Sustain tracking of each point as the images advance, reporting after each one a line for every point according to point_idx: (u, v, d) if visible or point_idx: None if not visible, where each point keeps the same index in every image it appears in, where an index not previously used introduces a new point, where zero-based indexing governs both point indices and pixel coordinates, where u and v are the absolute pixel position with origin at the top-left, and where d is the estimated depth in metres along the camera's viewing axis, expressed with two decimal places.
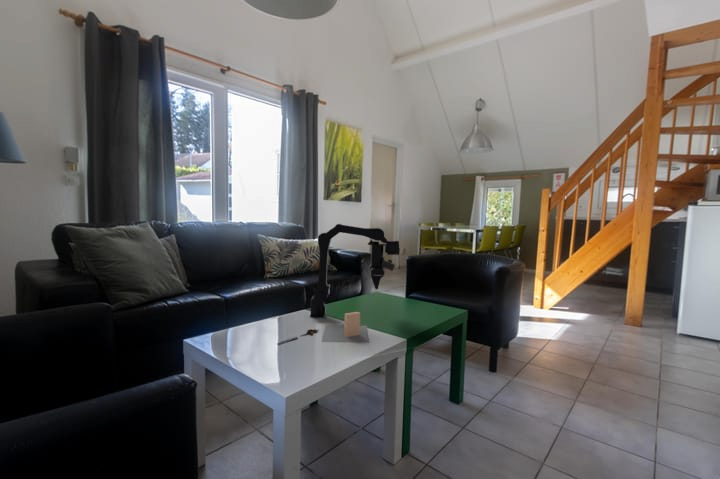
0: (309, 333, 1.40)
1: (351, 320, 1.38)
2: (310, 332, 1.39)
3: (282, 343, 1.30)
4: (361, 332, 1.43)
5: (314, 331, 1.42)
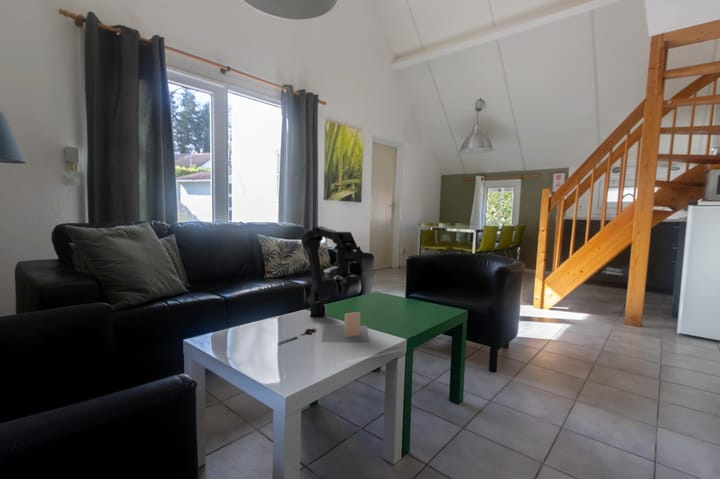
0: (308, 332, 1.40)
1: (351, 320, 1.38)
2: (309, 331, 1.40)
3: (282, 343, 1.30)
4: (361, 332, 1.43)
5: (312, 330, 1.42)
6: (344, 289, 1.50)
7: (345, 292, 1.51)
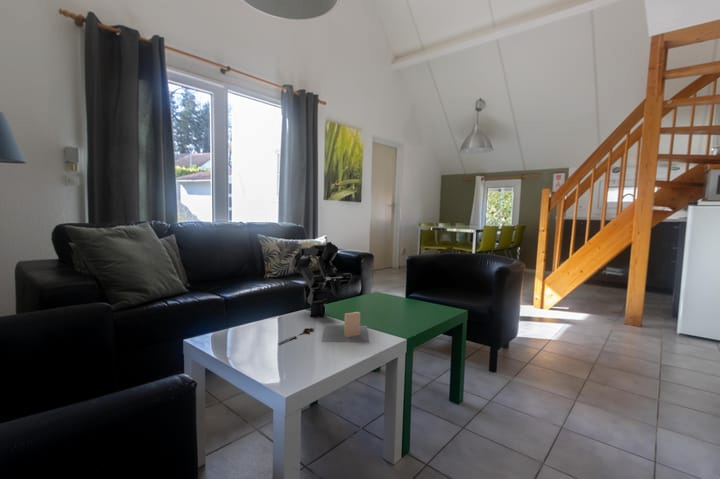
0: (306, 332, 1.41)
1: (351, 320, 1.38)
2: (307, 331, 1.41)
3: (282, 343, 1.31)
4: (361, 332, 1.43)
5: (310, 330, 1.43)
6: (331, 290, 1.51)
7: (334, 292, 1.50)
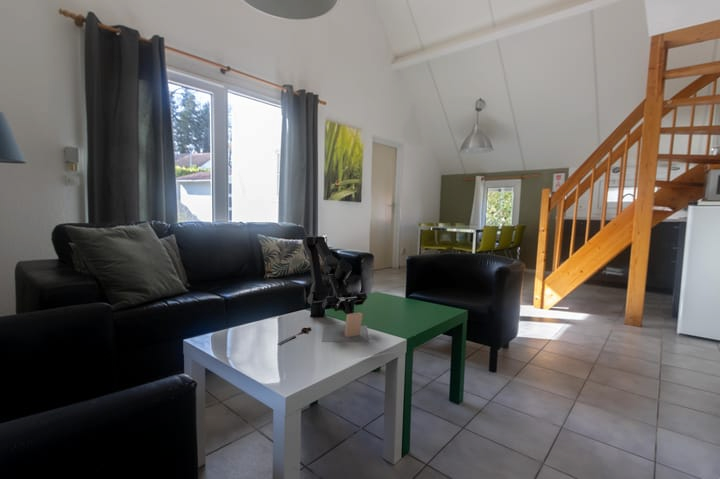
0: (304, 331, 1.42)
1: (353, 321, 1.37)
2: (306, 330, 1.41)
3: (283, 343, 1.31)
4: (361, 332, 1.43)
5: (308, 329, 1.44)
6: (345, 312, 1.41)
7: None
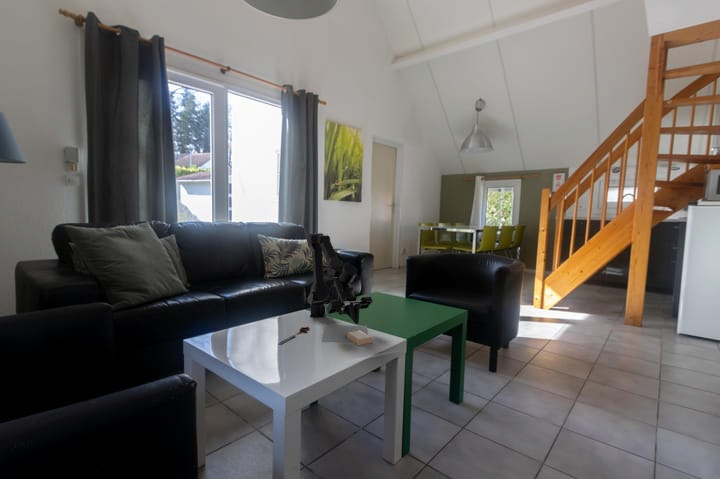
0: (303, 331, 1.42)
1: None
2: (304, 330, 1.42)
3: (283, 343, 1.31)
4: None
5: (306, 328, 1.44)
6: (350, 316, 1.37)
7: (353, 318, 1.36)
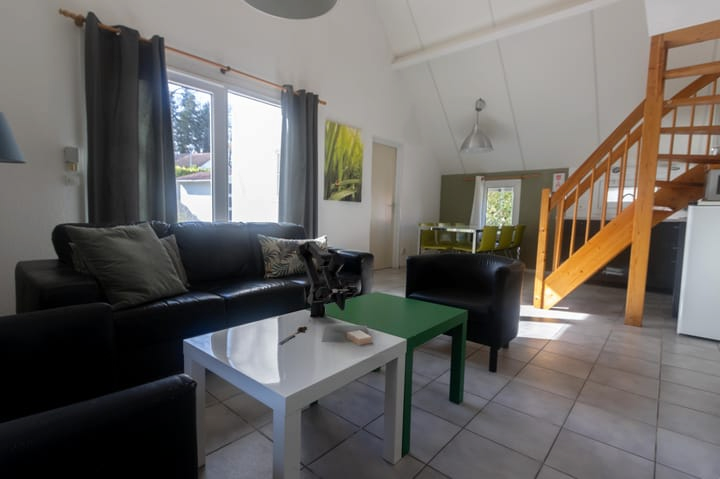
0: (301, 330, 1.42)
1: None
2: (302, 329, 1.42)
3: (283, 343, 1.31)
4: None
5: (304, 328, 1.45)
6: (337, 303, 1.47)
7: (340, 305, 1.46)
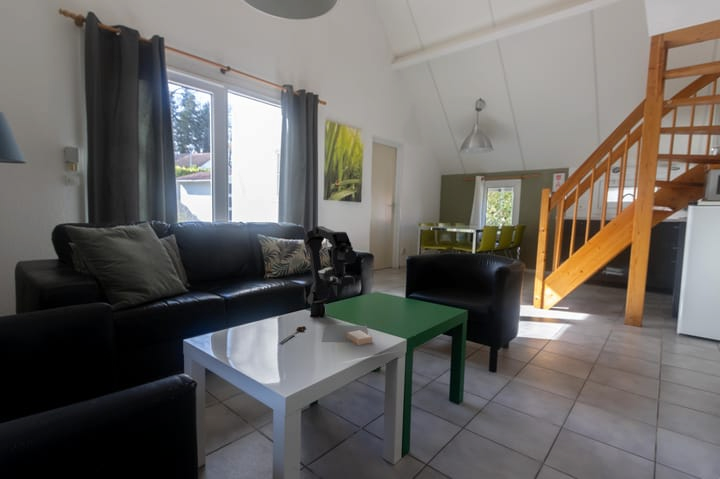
0: (300, 330, 1.43)
1: None
2: (302, 329, 1.43)
3: (283, 343, 1.31)
4: None
5: (303, 328, 1.45)
6: (338, 289, 1.49)
7: (339, 292, 1.50)
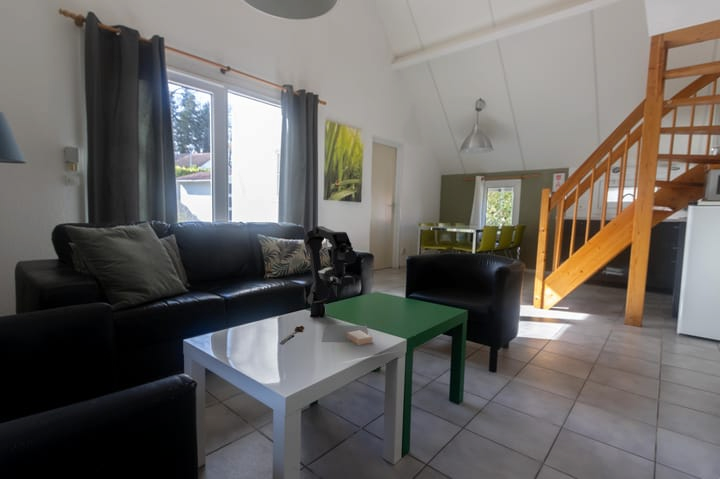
0: (299, 330, 1.43)
1: None
2: (300, 329, 1.43)
3: None
4: None
5: (301, 328, 1.46)
6: (338, 289, 1.49)
7: (339, 292, 1.50)
